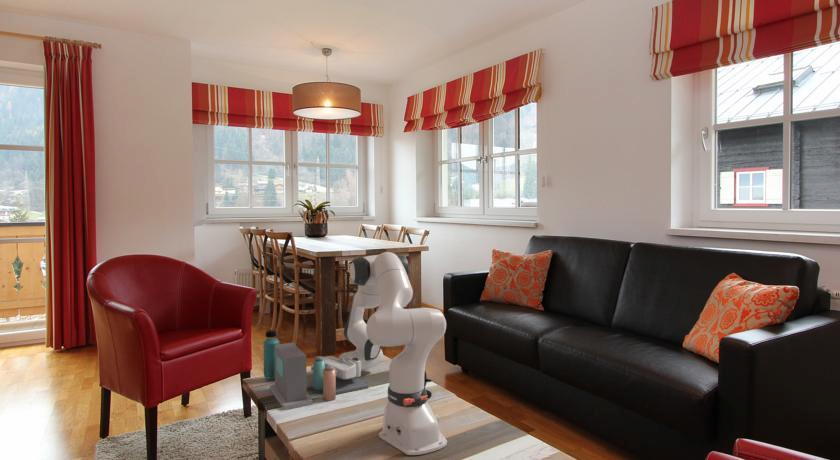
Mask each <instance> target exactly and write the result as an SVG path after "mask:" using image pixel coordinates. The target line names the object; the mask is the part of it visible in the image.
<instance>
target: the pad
mask: <svg viewBox="0 0 840 460" xmlns="http://www.w3.org/2000/svg"><path fill="white" fill-rule="evenodd" d="M367 389H369V385H368V384H367V383H365V381H363V380H362V379H361V378H359V377H354V378H350V379H341V378H339V377H337V378H336V396H337V395H341V394H342V395H343V394H346V393H351V392H356V391H361V390H367Z"/></svg>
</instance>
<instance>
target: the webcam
mask: <svg viewBox="0 0 840 460" xmlns="http://www.w3.org/2000/svg"><path fill="white" fill-rule="evenodd" d="M431 382H432V379H429V378H427V373H426V370H425V374H424V386H425V387H426V385H427V383H431ZM426 392H427V395H428V396H427V398H429V399H430V398H431V397H432V395H433V394H432V391H430V390H427V389H426Z"/></svg>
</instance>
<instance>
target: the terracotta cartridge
mask: <svg viewBox="0 0 840 460" xmlns="http://www.w3.org/2000/svg"><path fill="white" fill-rule="evenodd" d="M336 377H337V376H336V369H335V368H334V366H332V365H328V366H325V368H324V369H323V389H322V392H323V393H322V394H323V395H322V396H323V397H322V399H323V401H325V402H333V401H335V400H336V396H337V395H336V379H337V378H336Z"/></svg>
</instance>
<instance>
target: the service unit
mask: <svg viewBox="0 0 840 460" xmlns="http://www.w3.org/2000/svg"><path fill="white" fill-rule="evenodd" d="M307 378H308V377H307V354H306V353H304V352H303V351H302V350H301V349H300V348H299V347H298V346H297V345H296V344H295V343H294V342H288V343H287V342H286V343H279V345H275V378H274V384H270V385H269V390H270V391H271V392H272V394H273V396H274V397H275V399H276V400H277V402H278V404H280V406H281V408H282V409H283V411H287V410H292V409H297V408H302V407H307V406H311V405H313V404H314V403H313V399H312V397H310V396H309V394H308V390H307V388H308V387H307V384H308V383H307Z"/></svg>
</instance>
